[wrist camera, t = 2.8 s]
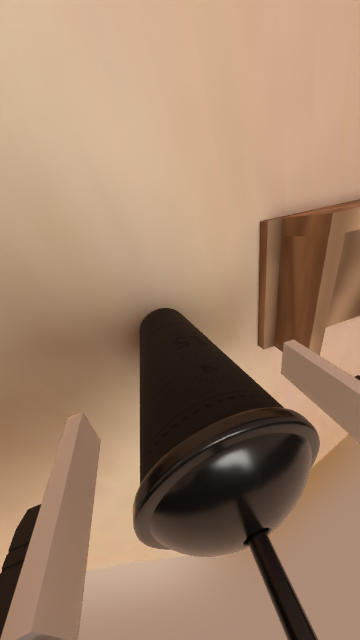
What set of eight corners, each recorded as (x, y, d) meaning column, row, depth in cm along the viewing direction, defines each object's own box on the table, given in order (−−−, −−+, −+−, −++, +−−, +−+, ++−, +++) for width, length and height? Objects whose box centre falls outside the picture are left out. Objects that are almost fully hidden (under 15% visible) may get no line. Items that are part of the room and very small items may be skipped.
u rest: (258, 345, 24) (293, 373, 19) (260, 221, 17) (314, 217, 12) (369, 306, 27) (423, 322, 22) (406, 189, 20) (494, 175, 15)
